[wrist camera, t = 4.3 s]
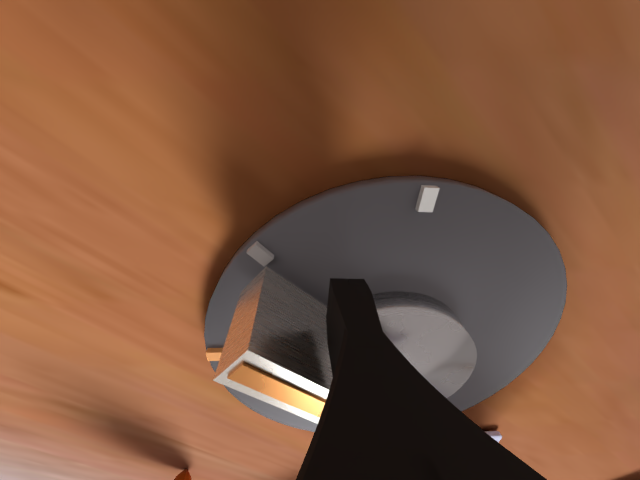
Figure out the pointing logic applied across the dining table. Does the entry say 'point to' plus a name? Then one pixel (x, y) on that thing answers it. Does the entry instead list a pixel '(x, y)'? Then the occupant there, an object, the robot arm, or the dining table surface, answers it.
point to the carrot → (183, 475)
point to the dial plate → (412, 269)
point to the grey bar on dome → (312, 349)
